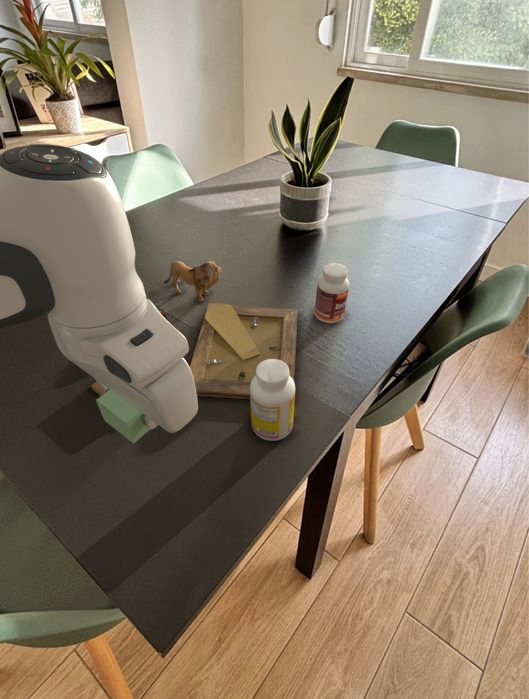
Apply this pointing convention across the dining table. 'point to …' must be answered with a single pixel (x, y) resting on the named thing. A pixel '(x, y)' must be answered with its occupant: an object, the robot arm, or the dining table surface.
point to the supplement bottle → (272, 400)
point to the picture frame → (241, 347)
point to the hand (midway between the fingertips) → (133, 409)
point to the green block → (122, 416)
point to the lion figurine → (195, 276)
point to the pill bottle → (332, 293)
